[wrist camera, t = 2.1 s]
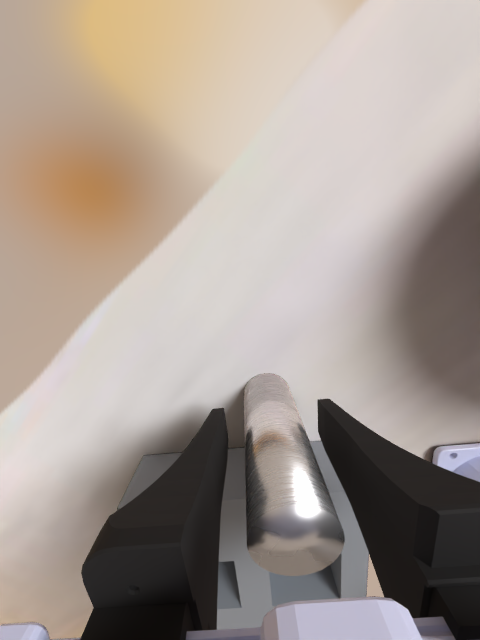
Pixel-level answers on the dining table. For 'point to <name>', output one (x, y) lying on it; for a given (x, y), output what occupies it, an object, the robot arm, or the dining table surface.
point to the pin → (285, 486)
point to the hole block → (241, 570)
